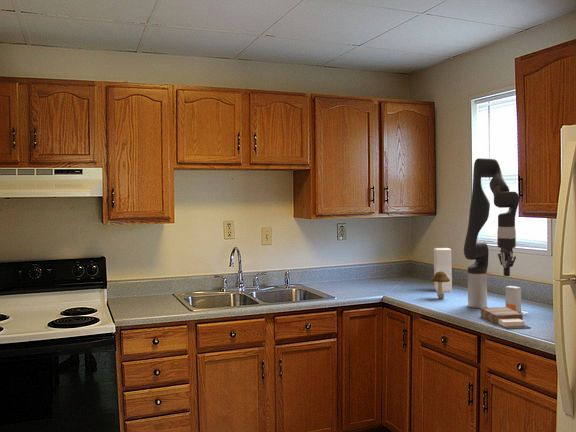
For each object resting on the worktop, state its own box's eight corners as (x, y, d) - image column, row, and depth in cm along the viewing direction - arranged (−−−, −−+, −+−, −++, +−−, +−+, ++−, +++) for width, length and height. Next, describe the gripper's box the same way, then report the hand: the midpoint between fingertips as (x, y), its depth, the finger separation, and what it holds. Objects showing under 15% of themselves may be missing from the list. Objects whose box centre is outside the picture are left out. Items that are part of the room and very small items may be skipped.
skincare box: (505, 311, 268) (504, 286, 268) (510, 309, 271) (510, 285, 270) (516, 313, 263) (516, 288, 263) (521, 311, 266) (521, 287, 265)
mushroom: (437, 296, 311) (437, 269, 310) (454, 299, 301) (453, 271, 301) (426, 298, 306) (426, 271, 305) (442, 301, 296) (442, 273, 296)
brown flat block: (481, 316, 258) (480, 307, 258) (505, 315, 259) (505, 307, 259) (496, 324, 242) (496, 315, 242) (522, 323, 243) (522, 314, 243)
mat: (498, 324, 242) (498, 323, 241) (520, 323, 242) (520, 322, 242) (507, 329, 233) (507, 328, 233) (530, 328, 234) (530, 327, 234)
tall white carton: (436, 291, 324) (436, 249, 323) (434, 289, 333) (433, 248, 332) (452, 291, 323) (451, 249, 322) (449, 289, 332) (448, 247, 331)
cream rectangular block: (498, 323, 242) (498, 318, 242) (518, 322, 242) (518, 318, 242) (503, 326, 236) (503, 322, 236) (524, 326, 236) (524, 321, 236)
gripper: (491, 235, 249) (491, 274, 250) (505, 238, 236) (505, 278, 237) (507, 235, 250) (508, 273, 251) (522, 237, 237) (522, 278, 237)
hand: (506, 275), depth 244 cm, fingers closed
